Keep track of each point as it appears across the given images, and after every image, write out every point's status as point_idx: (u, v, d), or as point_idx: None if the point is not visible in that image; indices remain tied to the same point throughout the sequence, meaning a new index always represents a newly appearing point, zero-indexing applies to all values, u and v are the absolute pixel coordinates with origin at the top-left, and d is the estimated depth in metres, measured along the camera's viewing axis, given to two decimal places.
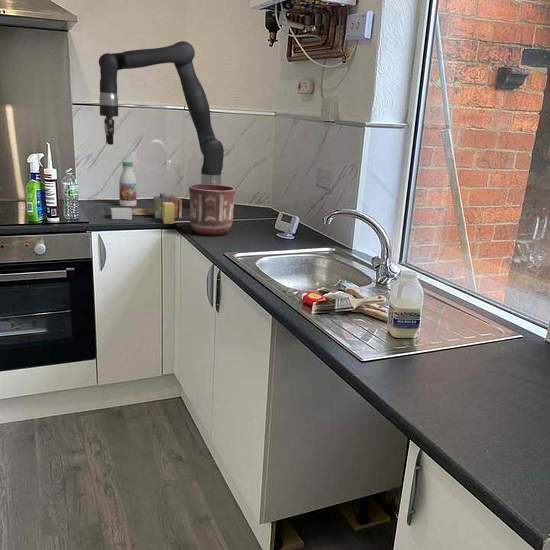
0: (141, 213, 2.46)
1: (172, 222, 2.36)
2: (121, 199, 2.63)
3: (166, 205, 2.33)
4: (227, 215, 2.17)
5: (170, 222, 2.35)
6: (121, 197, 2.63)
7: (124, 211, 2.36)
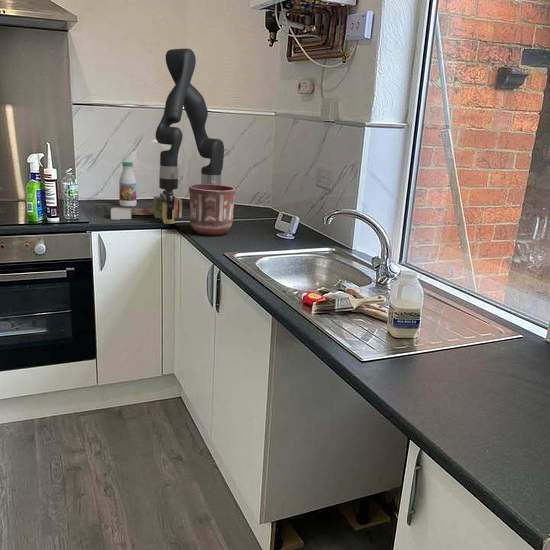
0: (141, 213, 2.46)
1: (172, 222, 2.36)
2: (121, 199, 2.63)
3: (166, 205, 2.33)
4: (227, 215, 2.17)
5: (170, 222, 2.35)
6: (121, 197, 2.63)
7: (123, 211, 2.36)
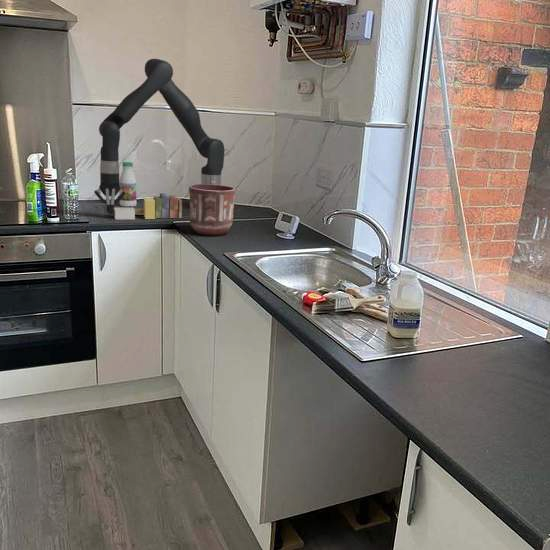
0: (141, 213, 2.46)
1: (153, 218, 2.41)
2: (121, 199, 2.63)
3: (147, 201, 2.38)
4: (227, 215, 2.17)
5: (151, 218, 2.40)
6: None
7: (127, 211, 2.37)
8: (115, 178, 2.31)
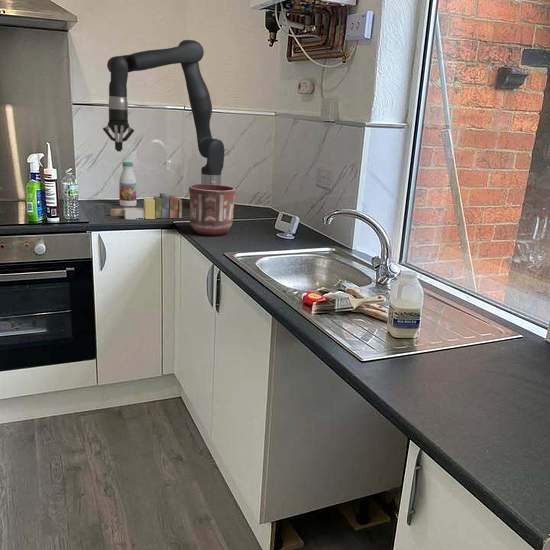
0: None
1: (153, 218, 2.41)
2: (121, 199, 2.63)
3: (147, 201, 2.38)
4: (227, 215, 2.17)
5: (151, 218, 2.40)
6: (121, 197, 2.63)
7: (137, 211, 2.39)
8: (123, 114, 2.31)
